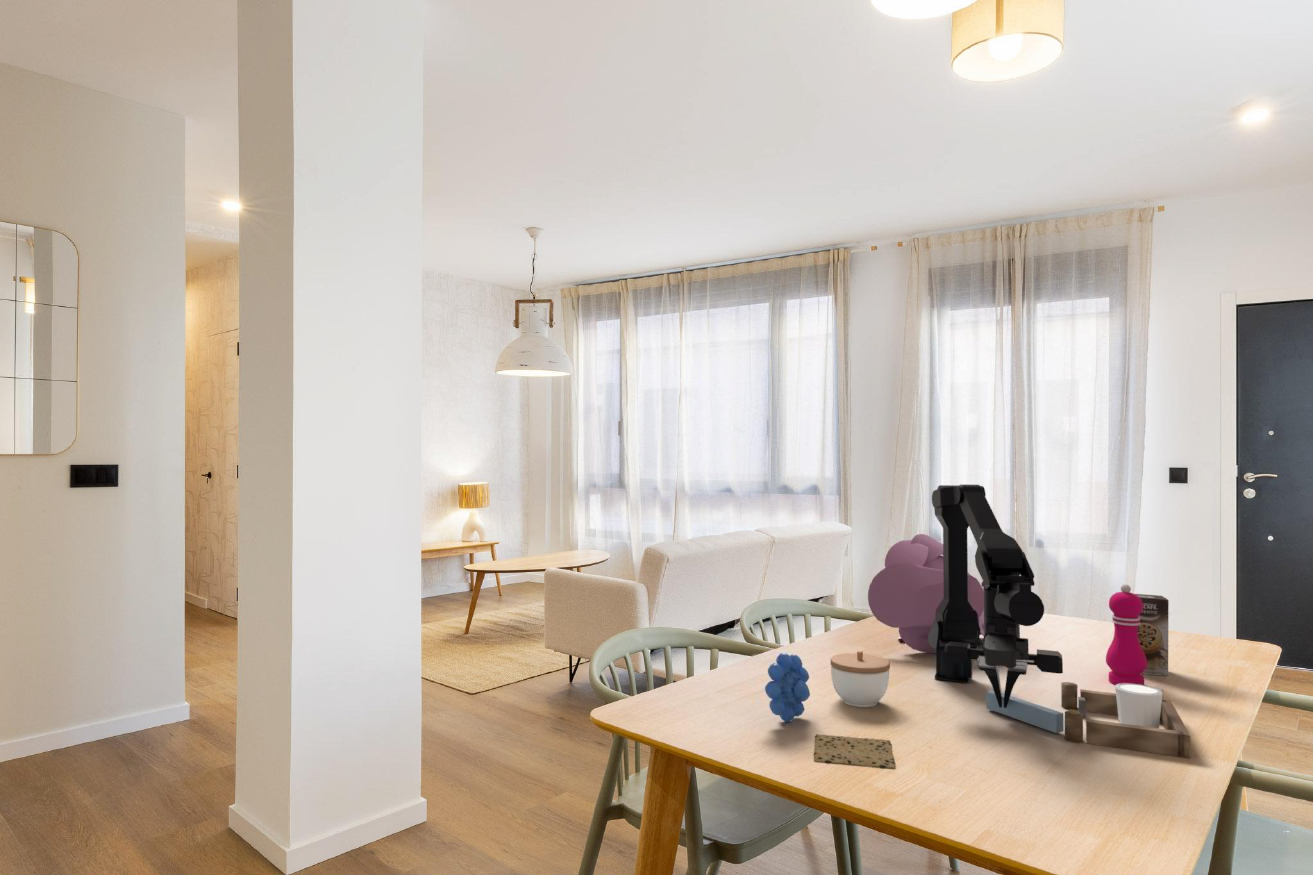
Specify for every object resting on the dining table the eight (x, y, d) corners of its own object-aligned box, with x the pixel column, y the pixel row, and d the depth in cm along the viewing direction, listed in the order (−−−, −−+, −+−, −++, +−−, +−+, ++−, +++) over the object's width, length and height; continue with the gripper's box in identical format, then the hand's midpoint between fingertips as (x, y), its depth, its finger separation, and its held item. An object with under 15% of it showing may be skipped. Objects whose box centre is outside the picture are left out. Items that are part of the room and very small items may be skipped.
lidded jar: (837, 690, 153) (837, 642, 154) (894, 698, 149) (894, 648, 149) (824, 705, 144) (824, 654, 144) (884, 714, 139) (884, 661, 139)
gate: (1056, 732, 129) (1056, 714, 129) (986, 708, 142) (986, 691, 142) (1063, 731, 130) (1063, 713, 130) (993, 706, 143) (993, 690, 143)
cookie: (890, 742, 126) (890, 736, 126) (896, 772, 115) (896, 765, 115) (814, 736, 129) (814, 730, 129) (813, 764, 117) (813, 758, 117)
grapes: (789, 736, 128) (789, 662, 128) (755, 726, 132) (756, 654, 133) (827, 719, 136) (827, 649, 136) (794, 710, 141) (795, 643, 141)
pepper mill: (1153, 689, 155) (1152, 588, 156) (1113, 687, 157) (1112, 586, 157) (1138, 679, 162) (1138, 582, 163) (1100, 677, 164) (1100, 580, 164)
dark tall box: (1119, 671, 168) (1119, 596, 169) (1114, 664, 174) (1114, 591, 174) (1169, 676, 165) (1169, 599, 165) (1163, 668, 171) (1162, 594, 171)
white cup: (1105, 723, 135) (1105, 682, 135) (1143, 722, 136) (1143, 682, 136) (1133, 738, 128) (1133, 694, 128) (1172, 737, 129) (1172, 694, 129)
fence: (1065, 740, 127) (1064, 712, 127) (1061, 704, 146) (1061, 679, 146) (1191, 759, 119) (1190, 728, 119) (1169, 718, 138) (1169, 691, 138)
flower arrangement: (923, 645, 211) (906, 540, 217) (1016, 640, 198) (995, 528, 204) (874, 658, 183) (856, 537, 190) (979, 653, 170) (956, 523, 176)
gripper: (940, 618, 135) (941, 711, 134) (1062, 628, 127) (1064, 727, 126) (947, 609, 145) (947, 696, 144) (1061, 618, 137) (1062, 709, 136)
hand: (1003, 707), depth 137 cm, fingers closed
